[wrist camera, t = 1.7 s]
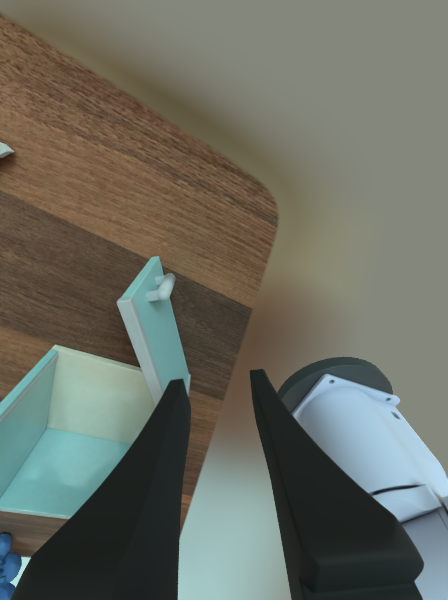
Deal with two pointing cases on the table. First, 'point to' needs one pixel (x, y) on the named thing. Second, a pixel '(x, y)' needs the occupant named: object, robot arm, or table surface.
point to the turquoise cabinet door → (154, 328)
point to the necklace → (4, 150)
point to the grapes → (8, 567)
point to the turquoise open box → (68, 430)
